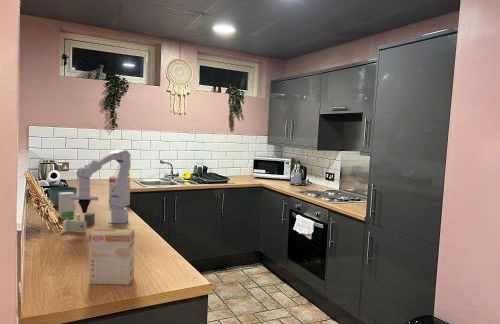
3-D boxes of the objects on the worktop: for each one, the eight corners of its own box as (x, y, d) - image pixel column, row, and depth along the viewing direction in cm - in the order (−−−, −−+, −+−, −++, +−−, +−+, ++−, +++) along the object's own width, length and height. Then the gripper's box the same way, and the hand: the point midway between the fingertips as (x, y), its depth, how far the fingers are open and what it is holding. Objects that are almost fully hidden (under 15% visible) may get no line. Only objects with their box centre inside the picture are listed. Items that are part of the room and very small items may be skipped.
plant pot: (49, 203, 266) (49, 187, 265) (77, 202, 274) (76, 186, 273) (47, 209, 250) (47, 191, 249) (77, 207, 258) (76, 190, 257)
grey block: (94, 223, 221) (94, 213, 220) (90, 225, 216) (90, 215, 215) (88, 222, 221) (88, 213, 220) (84, 225, 216) (84, 215, 215)
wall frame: (80, 223, 218) (80, 213, 217) (65, 232, 200) (65, 220, 200) (77, 223, 218) (77, 212, 217) (62, 232, 200) (62, 220, 200)
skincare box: (60, 219, 226) (60, 194, 225) (58, 217, 231) (57, 192, 230) (75, 217, 231) (75, 193, 230) (72, 215, 236) (72, 191, 235)
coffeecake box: (134, 277, 146) (134, 229, 144) (129, 285, 139) (129, 234, 137) (95, 276, 145) (95, 228, 143) (88, 284, 138) (88, 233, 136)
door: (84, 232, 200) (84, 222, 200) (67, 230, 202) (67, 220, 201) (86, 231, 202) (86, 221, 202) (69, 229, 204) (69, 220, 203)
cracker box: (108, 205, 269) (108, 176, 267) (113, 203, 275) (114, 175, 273) (125, 207, 265) (125, 178, 263) (130, 205, 271) (130, 177, 269)
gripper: (67, 189, 202) (68, 214, 203) (94, 190, 202) (94, 214, 203) (74, 187, 209) (74, 211, 210) (99, 188, 209) (99, 211, 210)
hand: (84, 212), depth 207 cm, fingers closed
